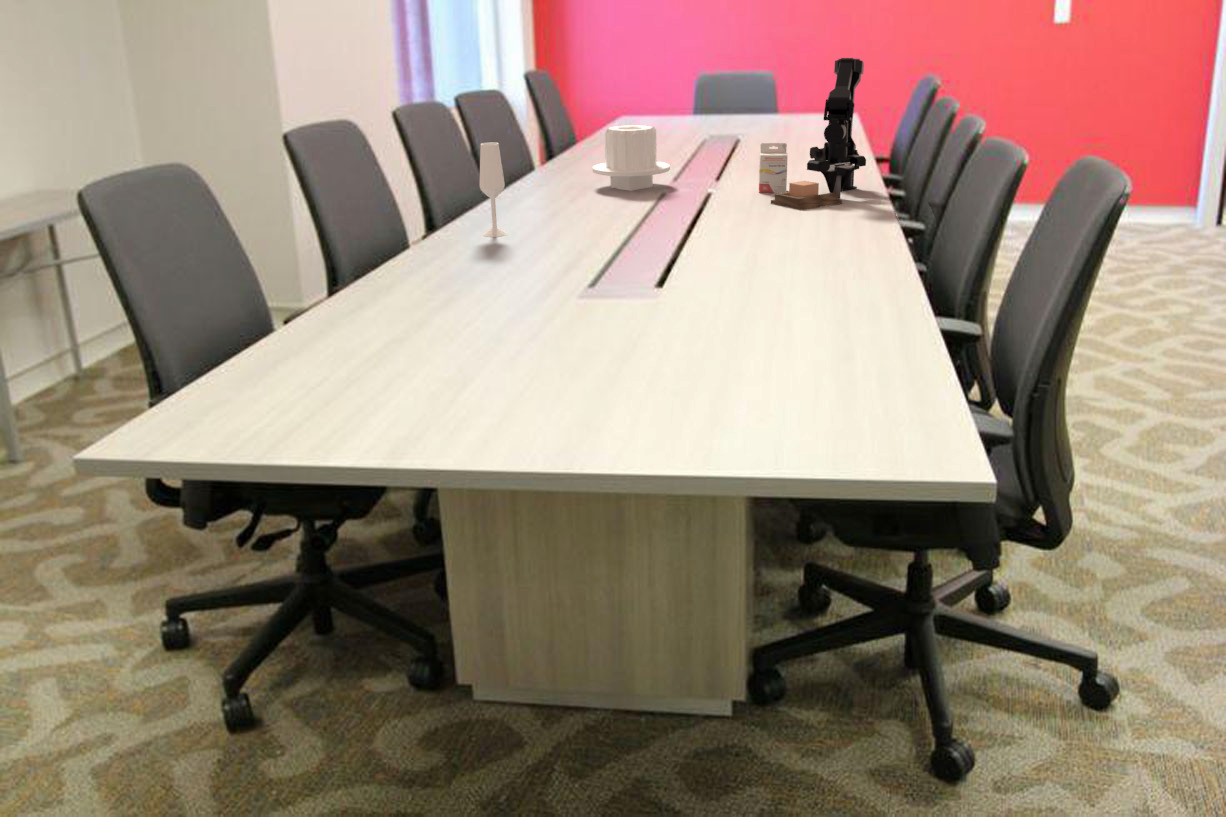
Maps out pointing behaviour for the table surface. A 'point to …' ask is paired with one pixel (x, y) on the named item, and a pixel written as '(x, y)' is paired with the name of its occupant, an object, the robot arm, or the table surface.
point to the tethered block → (810, 188)
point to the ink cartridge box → (773, 168)
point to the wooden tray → (806, 200)
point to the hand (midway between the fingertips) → (835, 192)
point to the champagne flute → (491, 180)
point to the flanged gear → (631, 157)
